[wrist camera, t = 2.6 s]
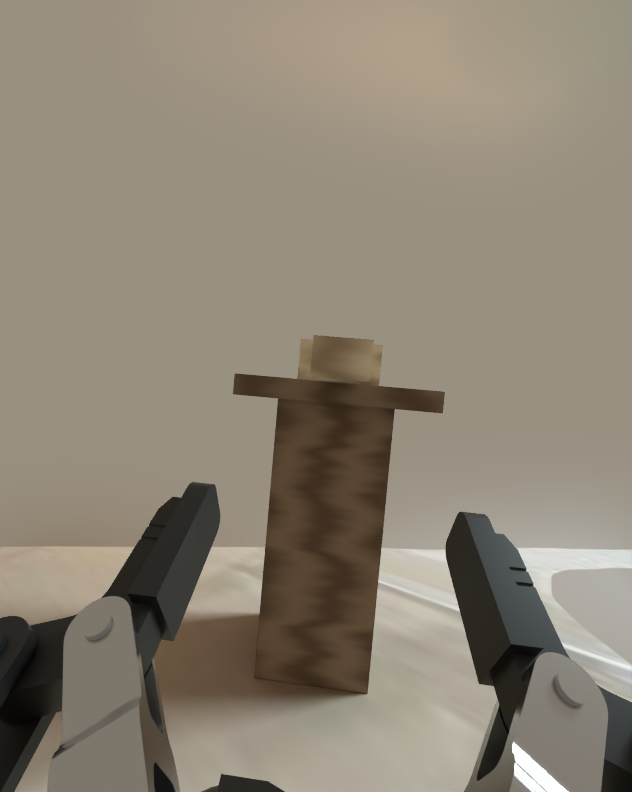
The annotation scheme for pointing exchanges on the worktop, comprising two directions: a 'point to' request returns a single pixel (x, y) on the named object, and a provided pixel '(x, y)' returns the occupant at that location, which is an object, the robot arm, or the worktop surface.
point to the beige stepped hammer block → (340, 360)
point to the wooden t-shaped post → (325, 526)
